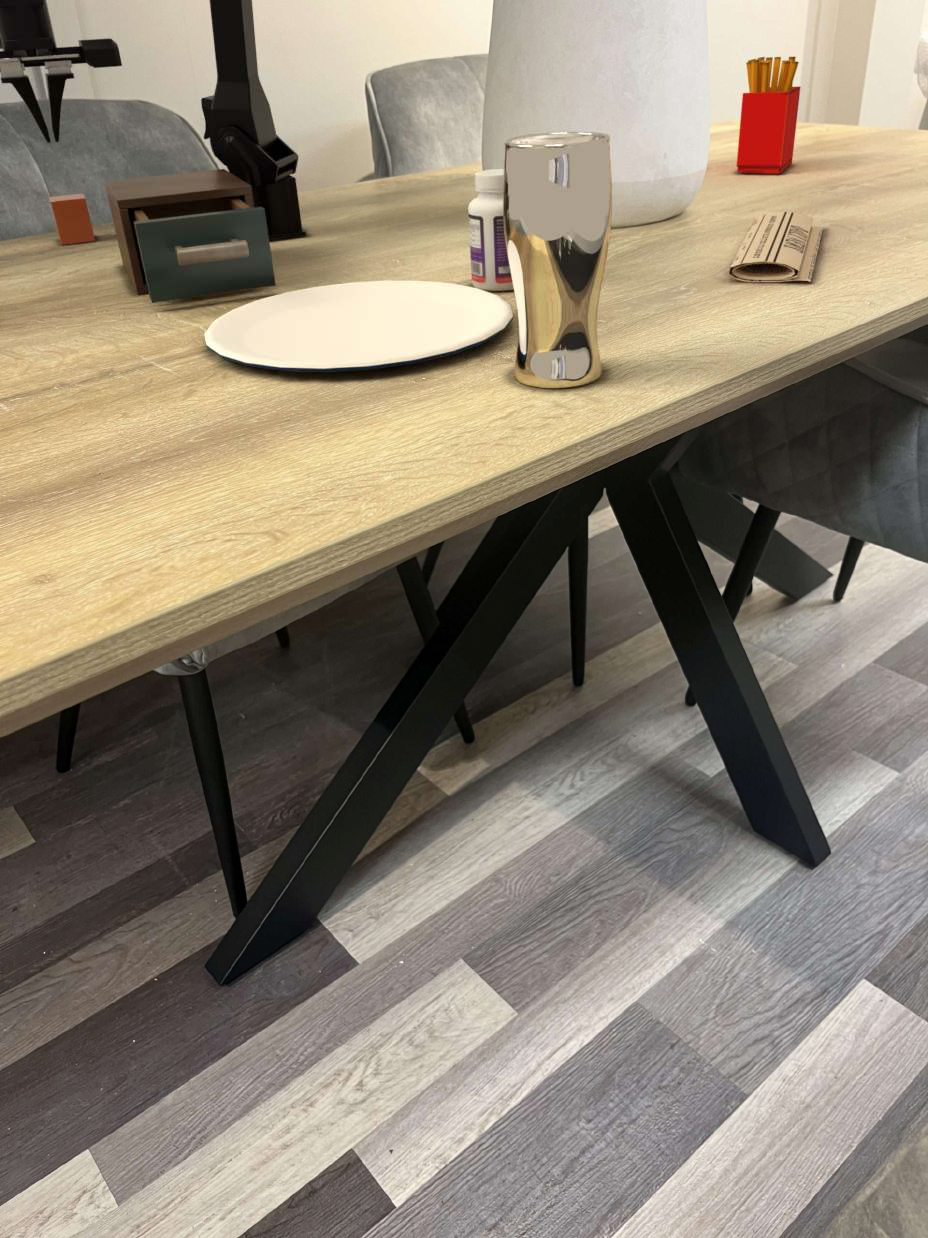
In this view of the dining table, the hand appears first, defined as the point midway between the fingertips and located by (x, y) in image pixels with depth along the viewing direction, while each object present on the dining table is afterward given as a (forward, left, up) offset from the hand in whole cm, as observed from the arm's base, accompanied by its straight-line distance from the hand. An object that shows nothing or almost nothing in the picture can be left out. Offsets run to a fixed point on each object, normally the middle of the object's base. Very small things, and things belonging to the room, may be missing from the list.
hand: (53, 141), depth 117 cm
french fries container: (-94, +10, -11) cm, 95 cm away
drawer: (-10, +38, -10) cm, 40 cm away
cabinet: (-10, +27, -11) cm, 31 cm away
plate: (-19, +59, -11) cm, 63 cm away
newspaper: (-63, +55, -11) cm, 84 cm away
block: (0, 0, -11) cm, 11 cm away
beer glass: (-28, +77, -11) cm, 83 cm away
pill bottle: (-35, +51, -11) cm, 63 cm away
